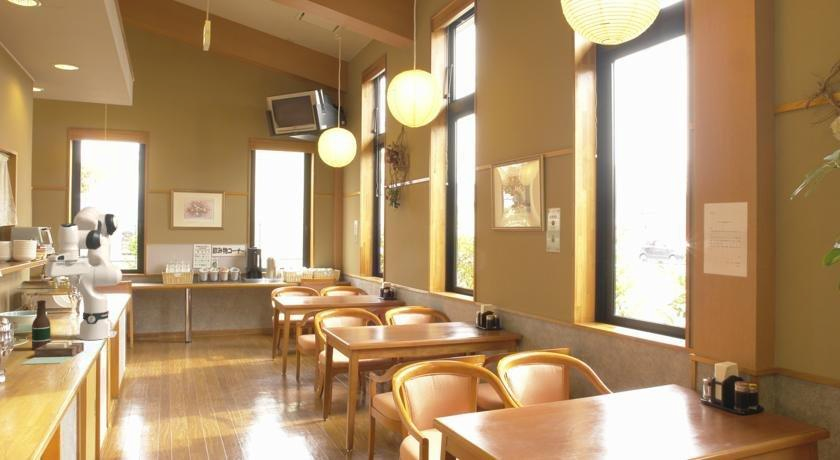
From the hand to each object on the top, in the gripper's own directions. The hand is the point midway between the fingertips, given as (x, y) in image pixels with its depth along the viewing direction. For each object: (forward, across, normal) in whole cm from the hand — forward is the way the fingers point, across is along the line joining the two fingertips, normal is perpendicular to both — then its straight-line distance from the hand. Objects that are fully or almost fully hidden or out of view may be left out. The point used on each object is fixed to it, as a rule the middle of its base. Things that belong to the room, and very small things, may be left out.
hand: (68, 284), depth 290 cm
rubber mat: (+33, +18, +12) cm, 39 cm away
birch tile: (+28, +8, +5) cm, 30 cm away
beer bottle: (+33, +4, -15) cm, 36 cm away
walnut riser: (+32, +7, +5) cm, 34 cm away
